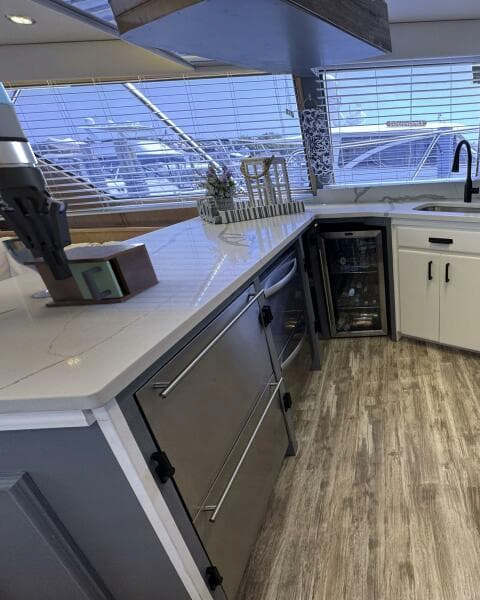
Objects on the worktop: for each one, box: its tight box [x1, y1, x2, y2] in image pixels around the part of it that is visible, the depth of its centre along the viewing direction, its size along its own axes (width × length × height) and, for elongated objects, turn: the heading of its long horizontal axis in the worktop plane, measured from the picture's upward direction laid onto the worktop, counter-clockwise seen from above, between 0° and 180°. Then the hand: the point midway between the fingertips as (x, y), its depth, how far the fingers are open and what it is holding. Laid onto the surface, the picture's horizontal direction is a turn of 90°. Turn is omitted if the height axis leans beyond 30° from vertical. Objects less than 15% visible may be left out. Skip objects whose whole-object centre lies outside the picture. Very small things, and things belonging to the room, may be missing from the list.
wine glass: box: [1, 237, 51, 299], centre depth 85 cm, size 8×8×15 cm
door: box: [68, 261, 123, 301], centre depth 76 cm, size 9×5×9 cm, turn 94°
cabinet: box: [23, 243, 159, 308], centre depth 84 cm, size 18×15×11 cm
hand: (64, 278), depth 73 cm, fingers closed
